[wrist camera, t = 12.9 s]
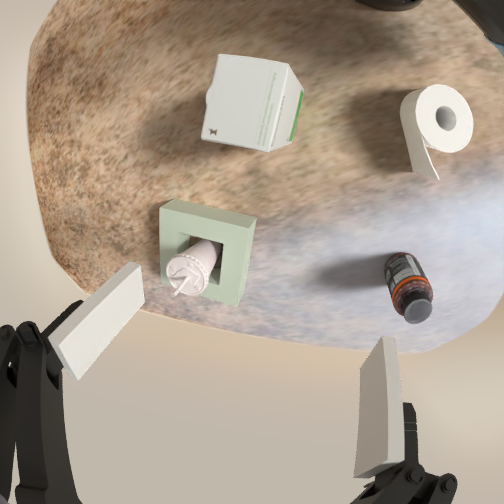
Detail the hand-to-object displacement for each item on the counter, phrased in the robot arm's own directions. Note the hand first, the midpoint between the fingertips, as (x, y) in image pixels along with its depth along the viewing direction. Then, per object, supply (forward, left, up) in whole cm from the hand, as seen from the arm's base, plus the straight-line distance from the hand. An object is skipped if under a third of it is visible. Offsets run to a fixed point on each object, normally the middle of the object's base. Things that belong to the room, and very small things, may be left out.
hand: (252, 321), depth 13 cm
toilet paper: (-13, +14, -28) cm, 34 cm away
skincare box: (-10, -6, -28) cm, 30 cm away
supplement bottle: (+8, +18, -28) cm, 34 cm away
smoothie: (+13, -12, -28) cm, 33 cm away
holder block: (+13, -13, -27) cm, 33 cm away
